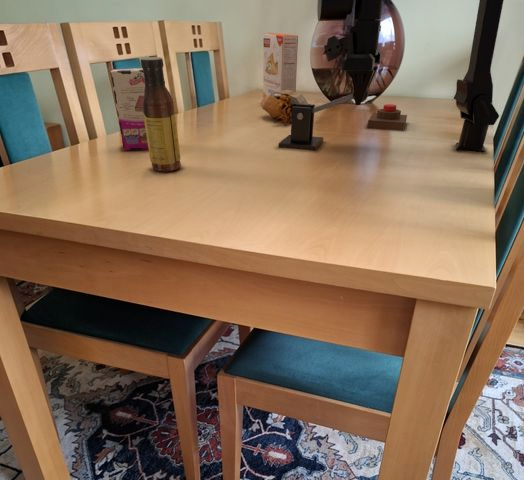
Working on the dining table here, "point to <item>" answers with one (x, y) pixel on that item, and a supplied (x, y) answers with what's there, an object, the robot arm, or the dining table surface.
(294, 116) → the bracket
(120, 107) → the candy bar box
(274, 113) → the nautilus
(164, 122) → the sauce bottle
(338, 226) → the dining table surface
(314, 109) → the lever
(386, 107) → the button
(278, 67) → the cracker box
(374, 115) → the button block
